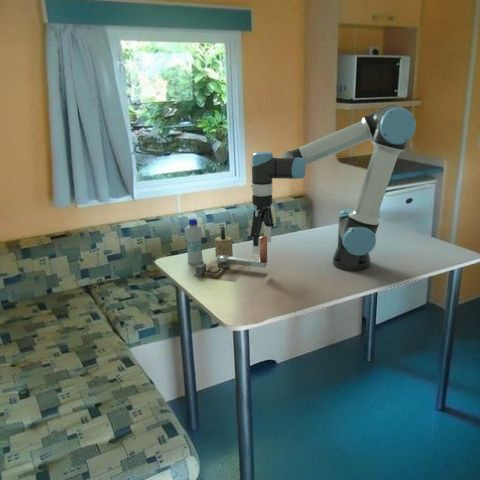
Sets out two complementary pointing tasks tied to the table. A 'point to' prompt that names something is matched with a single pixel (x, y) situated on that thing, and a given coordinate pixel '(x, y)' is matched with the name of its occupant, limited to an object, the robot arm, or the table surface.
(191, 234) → the bottle
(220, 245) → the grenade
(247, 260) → the lever
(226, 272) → the square wooden tray
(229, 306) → the table surface
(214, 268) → the nut
